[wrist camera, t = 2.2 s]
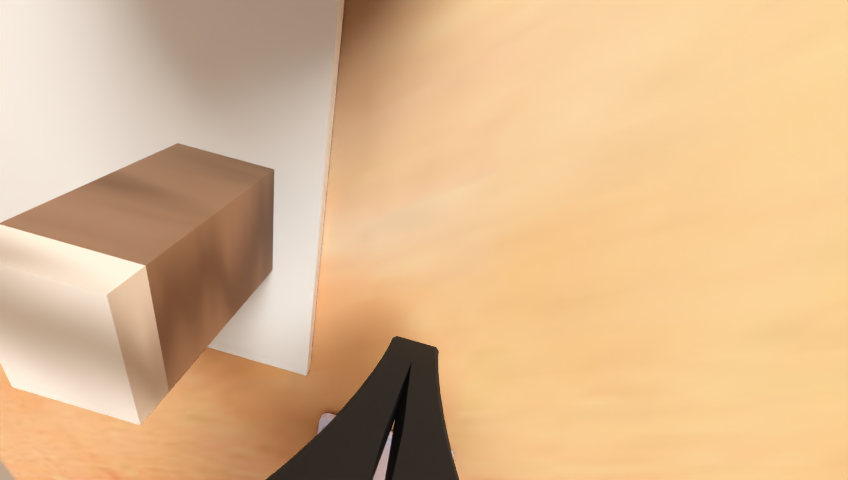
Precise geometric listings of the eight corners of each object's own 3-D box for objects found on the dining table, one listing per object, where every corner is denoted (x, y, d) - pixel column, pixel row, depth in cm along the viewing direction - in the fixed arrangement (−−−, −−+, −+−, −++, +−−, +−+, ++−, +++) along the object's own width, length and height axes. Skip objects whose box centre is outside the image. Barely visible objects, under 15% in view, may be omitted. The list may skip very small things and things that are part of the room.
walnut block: (272, 270, 19) (140, 425, 12) (189, 246, 19) (11, 387, 12) (274, 169, 16) (106, 294, 9) (177, 143, 16) (-56, 248, 10)
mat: (310, 368, 23) (306, 375, 22) (36, 289, 23) (28, 295, 23) (345, -8, 13) (339, -9, 13) (-119, -126, 14) (-139, -130, 13)
